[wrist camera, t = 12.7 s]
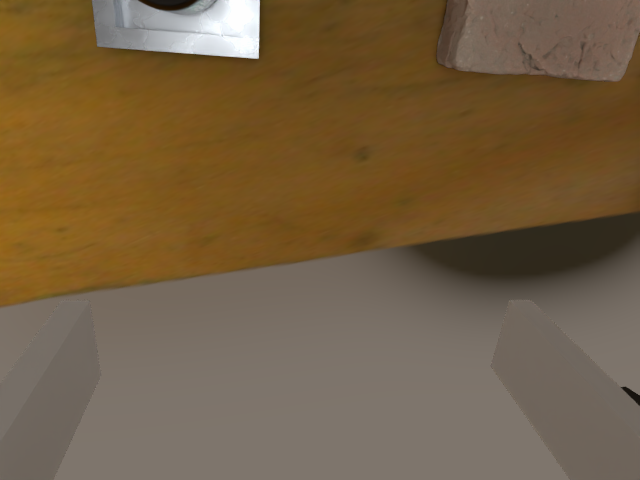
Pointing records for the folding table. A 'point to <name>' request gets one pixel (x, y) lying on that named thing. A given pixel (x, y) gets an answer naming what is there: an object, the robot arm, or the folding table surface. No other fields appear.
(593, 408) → the robot arm
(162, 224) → the folding table surface
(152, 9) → the keeper tray
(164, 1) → the supplement bottle
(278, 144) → the folding table surface
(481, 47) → the brick
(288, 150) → the folding table surface
